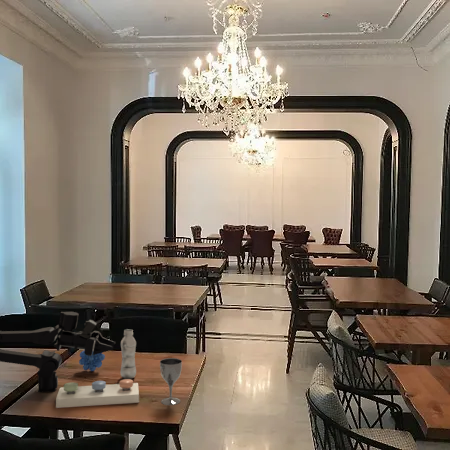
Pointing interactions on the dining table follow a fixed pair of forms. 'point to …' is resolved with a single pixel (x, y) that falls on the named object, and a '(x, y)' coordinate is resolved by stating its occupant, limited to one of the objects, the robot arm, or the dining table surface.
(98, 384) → the button blue
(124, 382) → the button terracotta
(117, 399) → the console
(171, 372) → the wine glass
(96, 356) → the grapes
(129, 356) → the plastic bottle
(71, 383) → the button sage
